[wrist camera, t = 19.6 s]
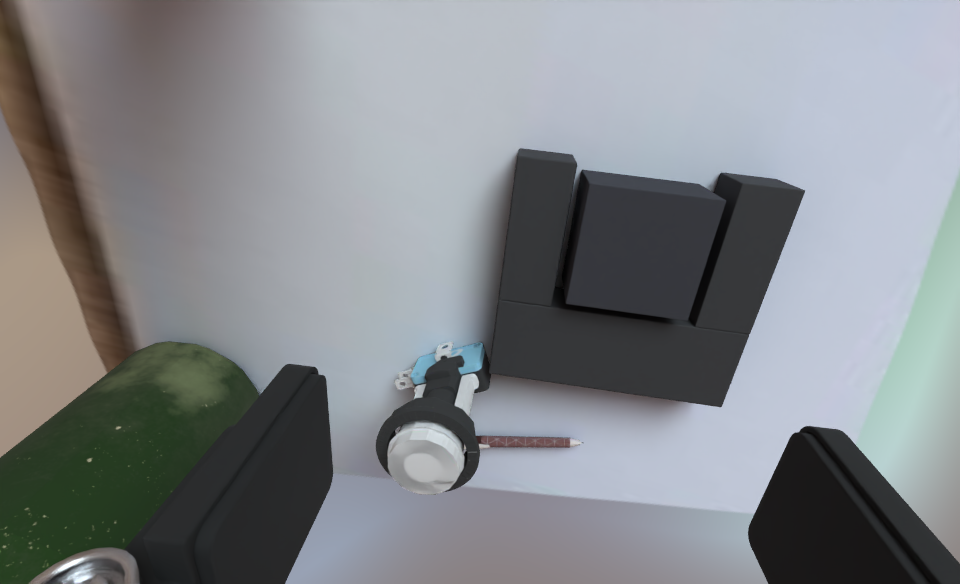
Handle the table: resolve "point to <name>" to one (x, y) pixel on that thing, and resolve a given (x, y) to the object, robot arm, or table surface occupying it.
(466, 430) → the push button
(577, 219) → the small black block
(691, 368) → the black u-shaped block
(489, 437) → the pen
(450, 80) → the table surface
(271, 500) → the robot arm
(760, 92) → the table surface
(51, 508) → the green bottle
